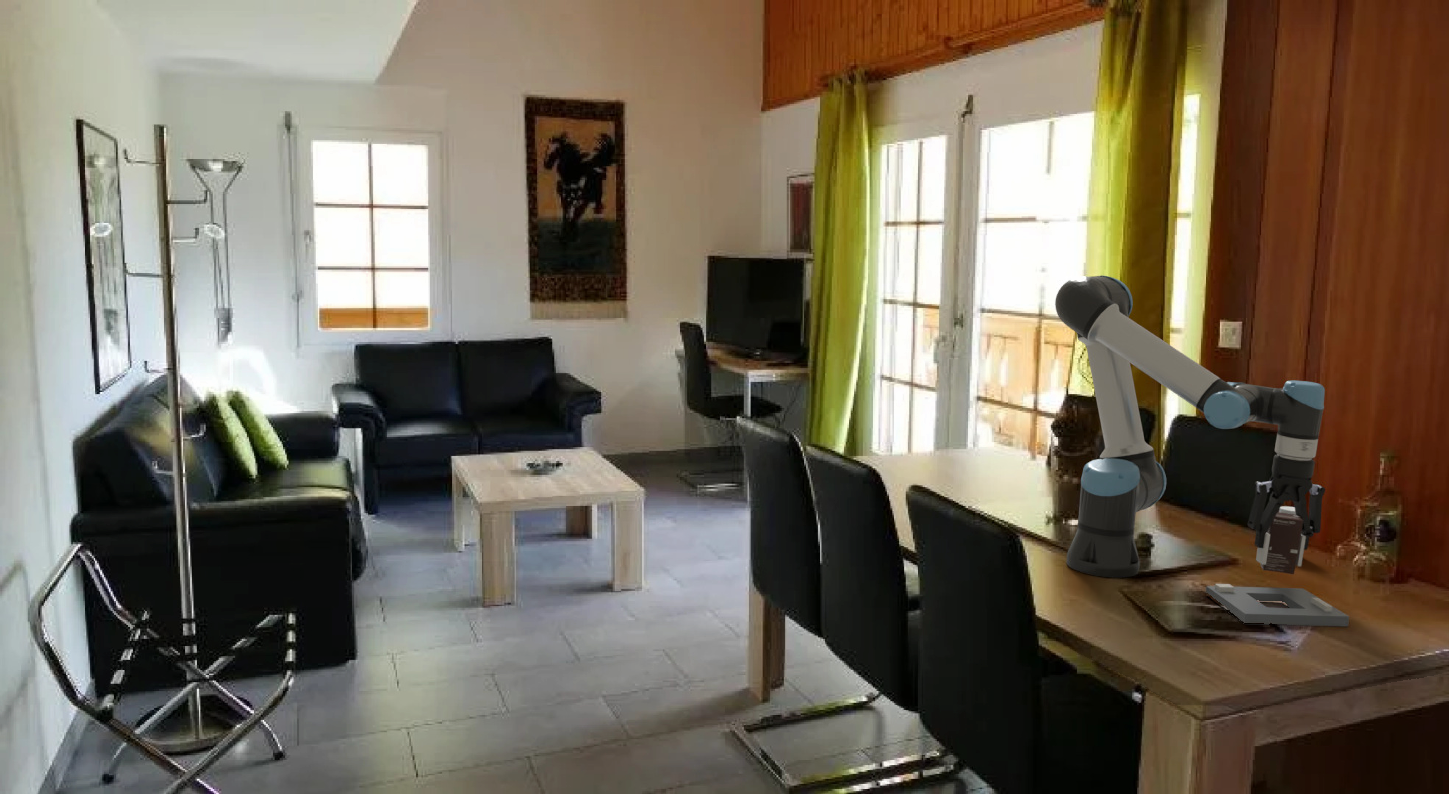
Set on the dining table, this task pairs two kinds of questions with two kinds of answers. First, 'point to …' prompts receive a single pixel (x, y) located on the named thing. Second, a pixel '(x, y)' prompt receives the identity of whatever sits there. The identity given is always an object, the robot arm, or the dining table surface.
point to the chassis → (1300, 609)
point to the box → (1283, 543)
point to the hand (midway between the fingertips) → (1278, 563)
